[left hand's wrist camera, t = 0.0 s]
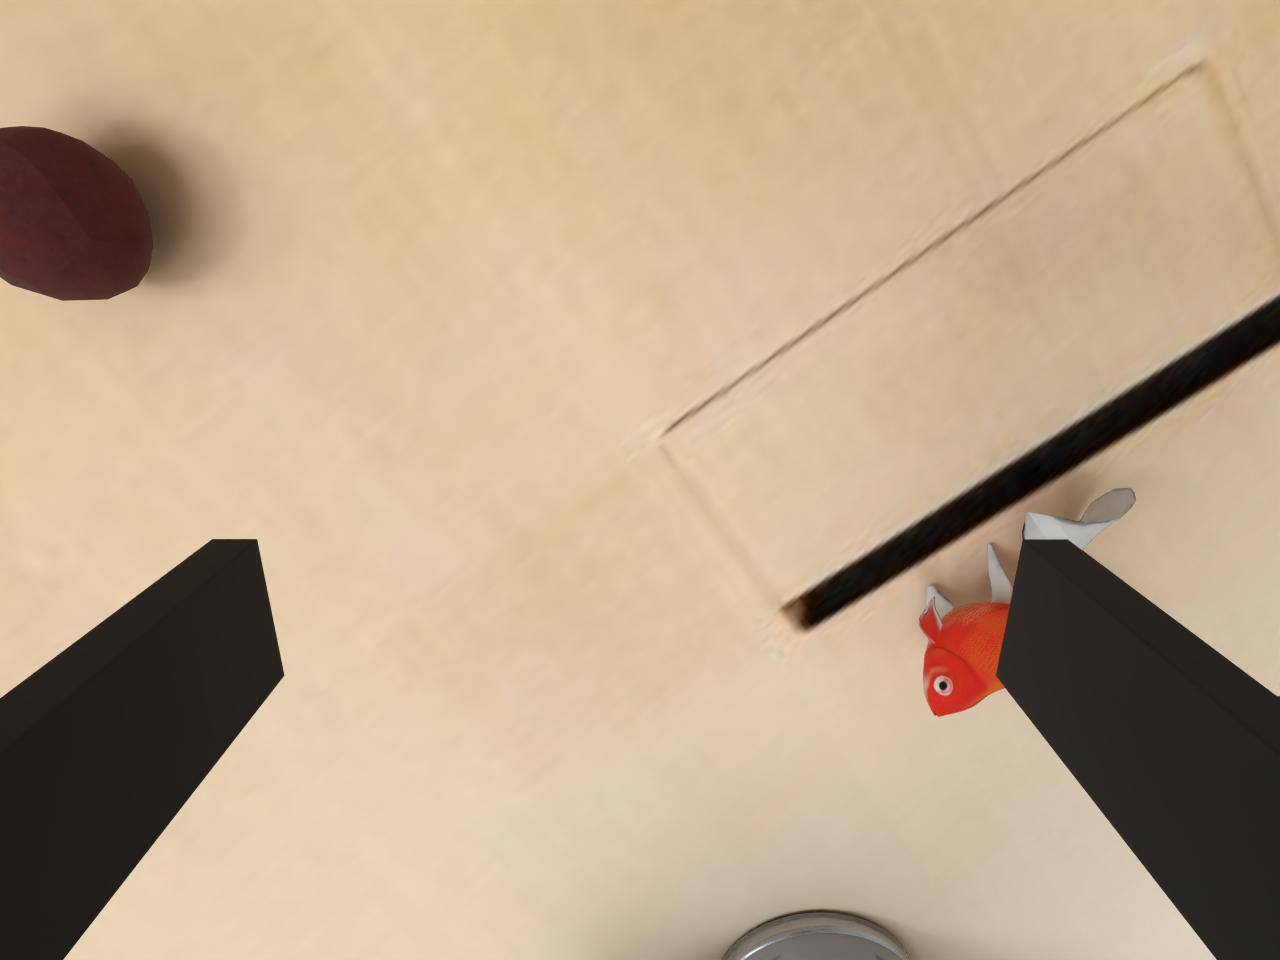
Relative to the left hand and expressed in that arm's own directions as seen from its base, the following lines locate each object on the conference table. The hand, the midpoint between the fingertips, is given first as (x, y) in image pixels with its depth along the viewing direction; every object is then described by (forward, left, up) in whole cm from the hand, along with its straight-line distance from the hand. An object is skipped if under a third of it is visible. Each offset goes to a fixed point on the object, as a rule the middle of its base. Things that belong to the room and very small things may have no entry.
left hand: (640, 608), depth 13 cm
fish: (-13, -21, -28) cm, 38 cm away
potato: (+6, +27, -28) cm, 39 cm away
